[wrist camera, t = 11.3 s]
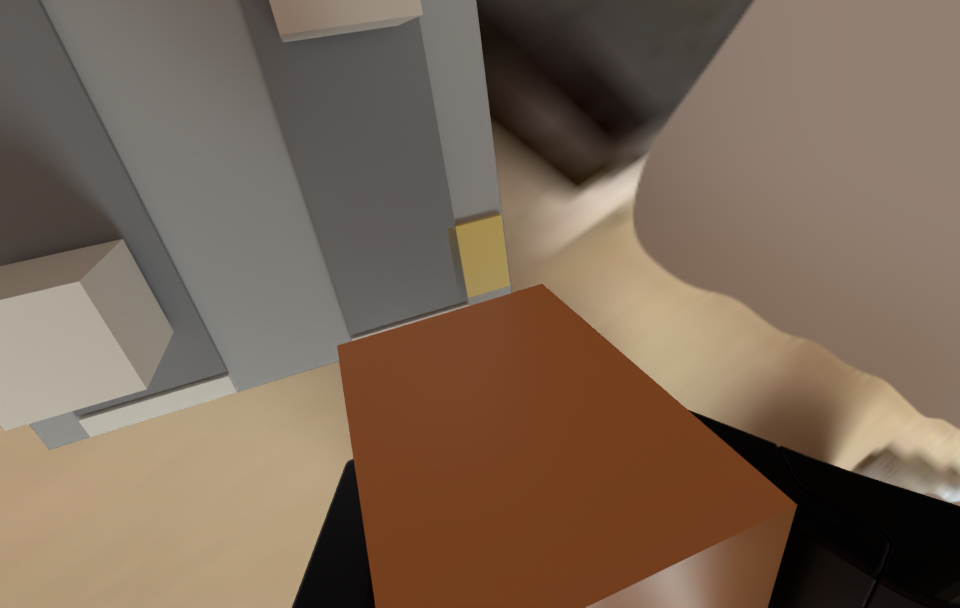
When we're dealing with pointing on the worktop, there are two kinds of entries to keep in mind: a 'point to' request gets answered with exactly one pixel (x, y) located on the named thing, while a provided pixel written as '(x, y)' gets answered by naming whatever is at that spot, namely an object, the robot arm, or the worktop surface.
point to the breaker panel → (250, 179)
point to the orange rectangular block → (545, 472)
